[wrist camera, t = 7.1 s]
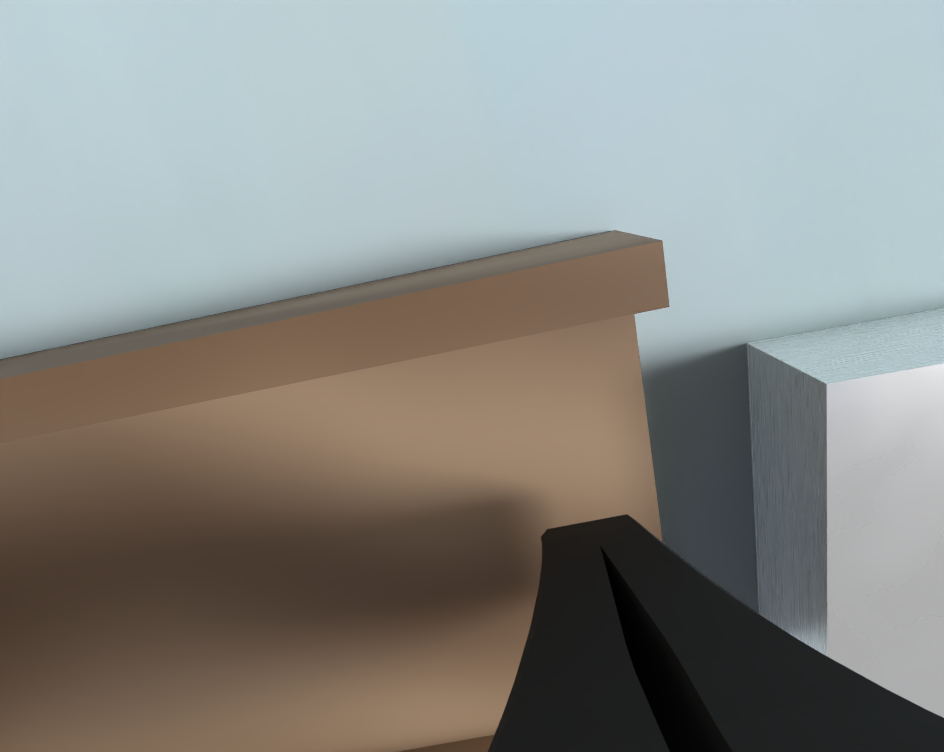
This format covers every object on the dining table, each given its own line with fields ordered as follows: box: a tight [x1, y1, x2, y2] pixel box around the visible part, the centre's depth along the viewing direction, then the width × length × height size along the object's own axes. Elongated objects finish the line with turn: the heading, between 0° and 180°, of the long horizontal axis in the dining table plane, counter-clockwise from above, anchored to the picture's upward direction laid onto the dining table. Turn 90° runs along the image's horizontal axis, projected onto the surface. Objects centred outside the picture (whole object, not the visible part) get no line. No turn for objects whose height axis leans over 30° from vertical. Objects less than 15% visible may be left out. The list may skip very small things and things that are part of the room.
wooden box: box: [0, 230, 669, 752], centre depth 10 cm, size 10×14×2 cm
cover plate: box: [747, 308, 944, 718], centre depth 9 cm, size 6×5×2 cm
